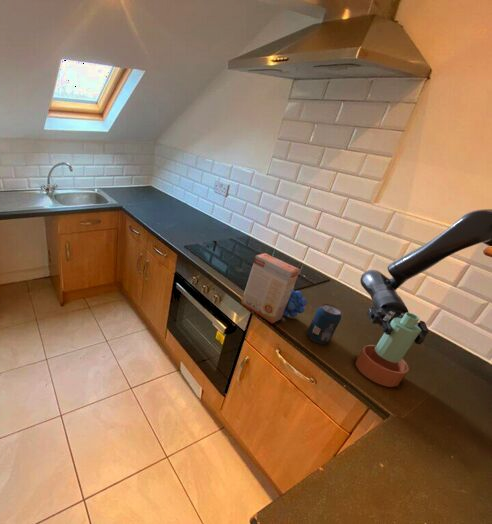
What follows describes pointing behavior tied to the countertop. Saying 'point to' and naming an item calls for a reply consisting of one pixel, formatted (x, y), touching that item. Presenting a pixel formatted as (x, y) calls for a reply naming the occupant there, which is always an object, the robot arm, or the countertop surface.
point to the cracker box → (269, 287)
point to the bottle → (398, 338)
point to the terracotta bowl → (380, 367)
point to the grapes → (295, 304)
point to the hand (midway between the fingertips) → (404, 336)
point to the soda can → (324, 323)
